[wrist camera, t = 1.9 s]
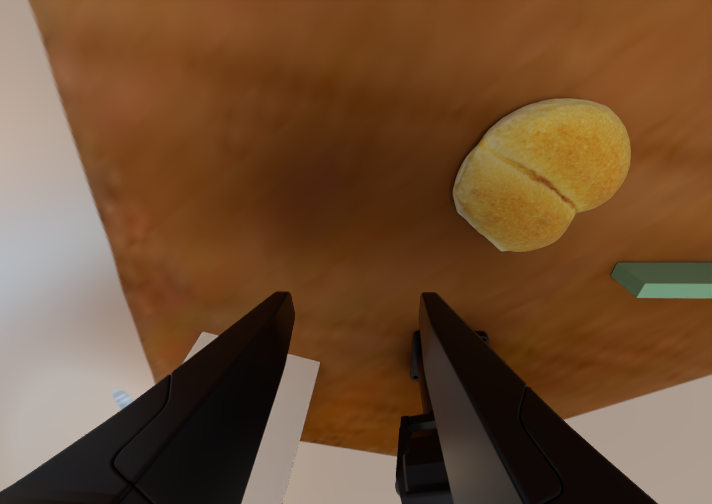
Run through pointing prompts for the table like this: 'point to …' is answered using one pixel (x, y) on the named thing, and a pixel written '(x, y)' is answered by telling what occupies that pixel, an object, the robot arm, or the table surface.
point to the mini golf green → (665, 279)
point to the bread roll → (541, 171)
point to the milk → (278, 428)
